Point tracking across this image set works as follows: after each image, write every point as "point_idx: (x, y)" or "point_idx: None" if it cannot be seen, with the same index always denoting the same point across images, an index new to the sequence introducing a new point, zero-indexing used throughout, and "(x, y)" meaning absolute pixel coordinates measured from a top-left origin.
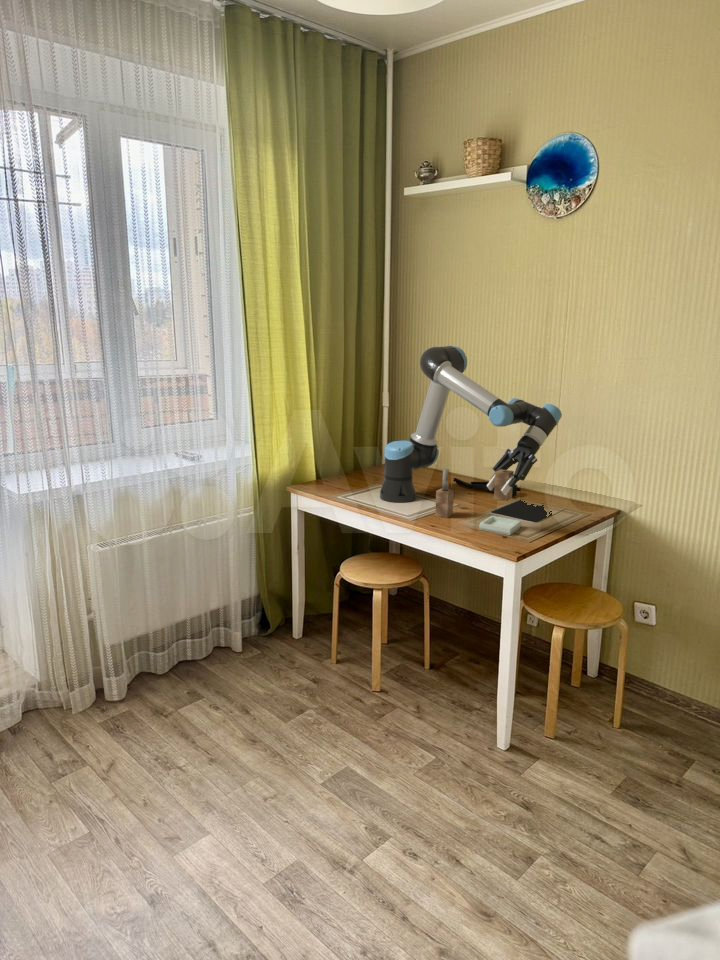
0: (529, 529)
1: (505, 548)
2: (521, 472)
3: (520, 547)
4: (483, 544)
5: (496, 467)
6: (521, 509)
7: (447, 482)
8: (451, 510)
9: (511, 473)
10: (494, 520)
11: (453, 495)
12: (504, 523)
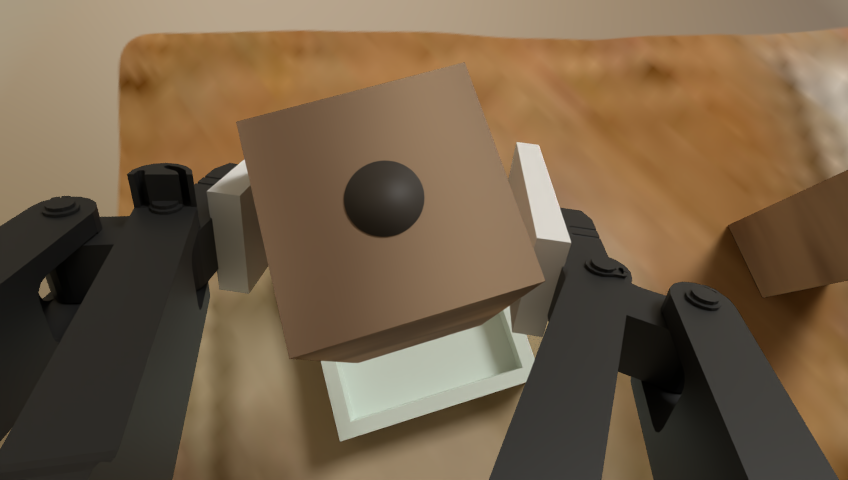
0: (286, 440)
1: (209, 86)
2: (17, 240)
3: (163, 147)
4: (312, 54)
5: (675, 318)
6: None
7: None
8: (777, 273)
9: (272, 257)
10: (505, 371)
11: None
12: (431, 377)
